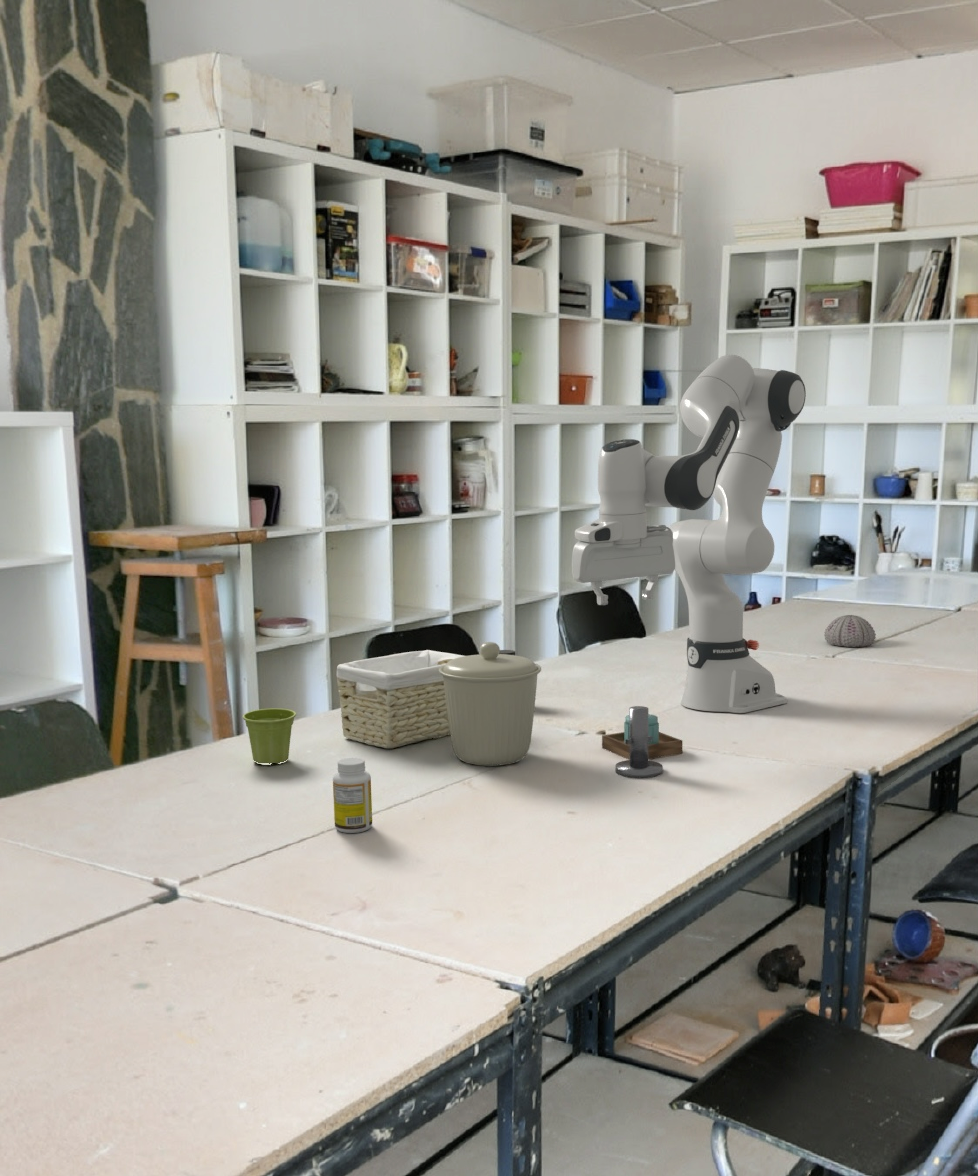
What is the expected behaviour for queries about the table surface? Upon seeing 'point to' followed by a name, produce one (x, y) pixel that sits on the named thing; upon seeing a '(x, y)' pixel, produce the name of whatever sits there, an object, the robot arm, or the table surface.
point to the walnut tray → (661, 749)
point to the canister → (490, 705)
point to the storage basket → (394, 698)
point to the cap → (652, 729)
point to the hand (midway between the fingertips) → (625, 601)
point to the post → (638, 748)
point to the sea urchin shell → (850, 632)
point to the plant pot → (270, 734)
